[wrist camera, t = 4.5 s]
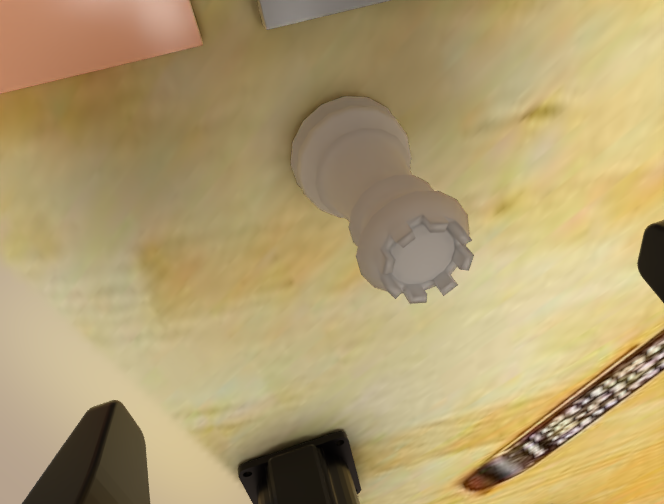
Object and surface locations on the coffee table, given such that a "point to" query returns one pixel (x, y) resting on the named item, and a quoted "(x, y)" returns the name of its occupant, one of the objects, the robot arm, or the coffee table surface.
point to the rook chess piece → (380, 198)
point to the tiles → (115, 33)
